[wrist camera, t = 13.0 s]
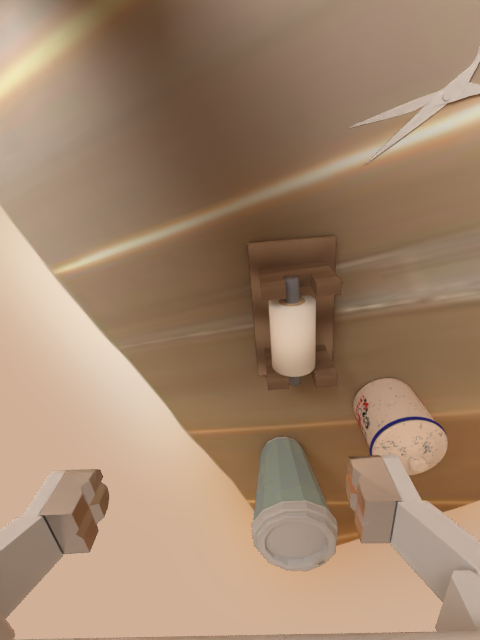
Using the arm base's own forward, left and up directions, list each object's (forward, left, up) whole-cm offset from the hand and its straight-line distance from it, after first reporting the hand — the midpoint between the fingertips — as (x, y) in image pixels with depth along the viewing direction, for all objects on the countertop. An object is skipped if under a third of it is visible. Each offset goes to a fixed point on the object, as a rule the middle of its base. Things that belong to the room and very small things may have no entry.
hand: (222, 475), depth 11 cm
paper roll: (+8, +5, -25) cm, 27 cm away
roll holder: (+8, +6, -31) cm, 33 cm away
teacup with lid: (+25, +19, -31) cm, 44 cm away
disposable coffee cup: (+32, +4, -31) cm, 45 cm away
